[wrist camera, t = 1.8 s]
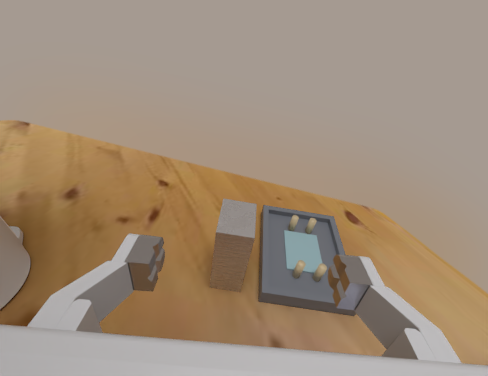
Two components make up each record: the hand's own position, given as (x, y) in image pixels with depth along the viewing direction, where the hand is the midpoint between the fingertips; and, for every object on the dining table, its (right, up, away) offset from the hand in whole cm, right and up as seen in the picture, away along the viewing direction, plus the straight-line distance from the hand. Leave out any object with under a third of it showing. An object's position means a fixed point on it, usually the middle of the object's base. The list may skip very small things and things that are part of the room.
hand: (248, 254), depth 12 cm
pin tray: (+9, -9, +31) cm, 33 cm away
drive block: (-3, -10, +26) cm, 28 cm away
